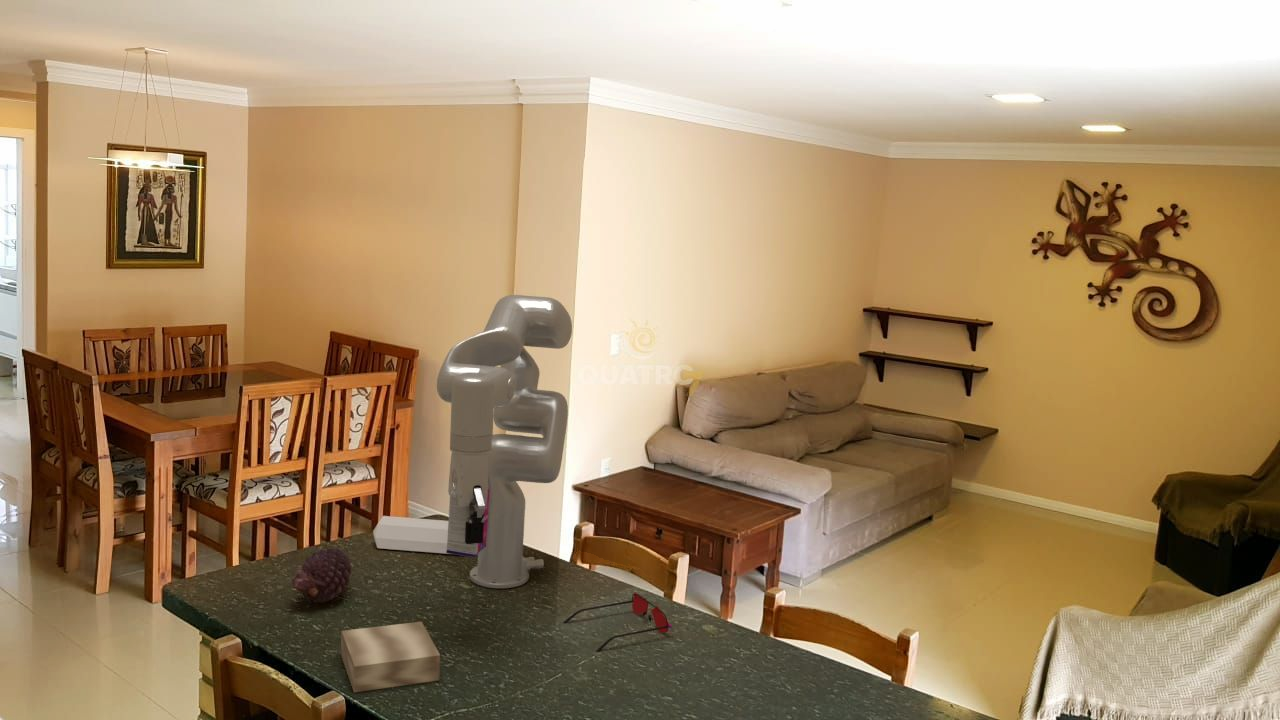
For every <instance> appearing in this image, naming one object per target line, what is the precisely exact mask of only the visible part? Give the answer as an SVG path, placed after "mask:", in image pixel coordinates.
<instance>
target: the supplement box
mask: <svg viewBox="0 0 1280 720" xmlns="http://www.w3.org/2000/svg"><path fill="white" fill-rule="evenodd" d="M489 494H490V489H488V495H487V504H486V505H485V511H484V531H483V542H482V543H474V544H466V543H465V526H466V522H468V520H467V511H466V507H464V509H461V508H460V507H459V506H458V505H457V504H456V493H455V492H454V491H453V492H451V493H450V495H449V507H448V508H449V509H448V520H447V521H448V538H447V551H446V553H449V554H448V555H458V556H464V557H470V558H471V557H472V558H476V557H478V553H479V552H480V551H482V550H483V549H484V548H485V547H486V538H487V523H488V508H489ZM470 505H476V504H475V500H474V499H473V501H472V502H470ZM474 511H476V510H475V509H472V510H471V514H473V512H474Z"/></svg>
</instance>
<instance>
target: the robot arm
mask: <svg viewBox="0 0 1280 720" xmlns="http://www.w3.org/2000/svg"><path fill="white" fill-rule="evenodd" d="M572 333H573V324H572V319H571V316H570V313H569V311H568V310H567V309H566V307H565V306H564V305H563V304H562V303H561V302H560V301H559V300H557V299H555V298H553V297H549V296H548V297H546V296H536V295H535V296H533V295H522V294H510V295H506V296H503V297H501V298H500V299H499V300H498V301H497V302H496V304H495V305H494V308H493V310H492V312H491V314H490V316H489V318H488V321H487V323H486V325H485V326H484V329H483V331H481V332H478V333H476V334H473V335H472V336H470V337H468V338H466V339H464V340H462V341H460V342H458V343H456V344H455V345H453V347H452V348H451V349H450V350H449V351H448V352H447V355H446V356H445V358H444V360H443V363H442V364H441V366H440V369H439V372H438V375H437V378H436V391H437V394H438V396H439V398H440V399H441V400H442V401H444V402H446V403H450V404H451V406H450V408H451V410H450V431H449V432H450V433H449V451H450V452H451V455H450V462H449V463H450V464H449V465H450V466H449V475H448V490H447V492H448V495H449V496H450V493H451V492H453V491H454V492H455V493H456V504H457V505H458V506H459V507H460V508H461V509H464V507H466V511H467V520H468V522H466V526H465V543H466V544H474V543H482V542H483V531H484V511H485V505H486V504H487V495H488V489H490V494H489V508H488V523H487V538H486V547H485V548H484V549H483V550H482V551H480V552H479V553H478V554H477V565H476V566H474V567H473V568H471V570H470V571H469V579H470V581H471V582H473V583H474V584H475V585H478V586H481V587H484V588H488V589H510V588H516V587H520V586H522V585H524V584H525V583H527V582H528V580H529V579H530V574H529V572H530V570H531V569H536V570H537V569H543V568H544V567H545V562H544V559H543V558H539V559H535V557H534V556H528V557H524V555H523V553H524V539H525V517H526V498H525V493H524V492H523V490H522V489H521V487H520V486H519V484H518V483H517V482H525V483H537V484H551V483H553V482H555V481H556V480H557V478H558V477H559V474H560V471H561V467H562V461H563V454H564V447H565V440H566V435H567V434H566V433H567V432H566V431H567V426H568V419H569V418H568V416H569V408H568V401H567V399H566V397H565V395H563V394H562V393H560V392H557V391H554V390H545V389H544V390H543V389H538V385H539V380H540V368H539V366H538V364H537V363H536V361H535V359H534V358H533V356H532V355H531V354H530V352H528V351H527V350H526V348H525V347H530V348H531V347H532V348H543V349H544V348H545V349H558V350H559V349H560V350H561V349H563V348H565V347H567V345H568V344H569V342H570V340H571V337H572ZM494 425H495V426H496V427H497V428H498V429H500V430H503V431H507V432H514V433H521V434H519V435H518V434H509V433H508V434H507V433H506V434H505V433H496V434H495V433H494ZM522 433H523V434H532V435H533V434H534V435H541V436H542V437H538V436H529V435H528V436H526V435H522ZM473 499H474V500H475V504H476V505H470V502H472V501H473ZM472 509H475V510H476V511H474V512H473V514H471V510H472Z"/></svg>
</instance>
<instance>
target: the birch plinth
mask: <svg viewBox="0 0 1280 720" xmlns="http://www.w3.org/2000/svg"><path fill="white" fill-rule="evenodd" d="M340 640H341V643H340V657H341V659H342V663H343V665H344V668H345V670H346V673H347V675H348V679H349V682H350V685H351V687H352V688H351V689H352V691H353V693H359V692H360V693H361V692H365V691H366V692H367V691H373V690H375V691H376V690H380V689H388V688H395V687H401V686H402V687H403V686H409V685H415V684H422V683H430V682H437V681H440V675H441V674H440V670H441V654H440V652H439V649H437V647H436V645H435V643H434V642H433V640H432V638H431V636H430V635H429V632H428V631H427V628H426V627H425V625H424V624H423V622H422V621H414V622H406V623H399V624H398V623H397V624H390V625H388V624H387V625H380V626H372V627H362V628H356V629H347V630H341V637H340Z"/></svg>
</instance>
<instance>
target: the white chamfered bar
mask: <svg viewBox="0 0 1280 720" xmlns="http://www.w3.org/2000/svg"><path fill="white" fill-rule="evenodd" d="M448 521H449V520H443V519H442V520H440V519H427V518H426V519H425V518H415V517H405V516H404V517H402V516H388V515H383V516H382V517H381V518H380V520H379V521H378V523H377V524H376V526H375V528H374V529H373V531H372V535H373V539H374V542H375V547H376V548H377V549H385V550H386V549H387V550H397V551H398V550H399V551H409V552H423V553H432V554H433V553H435V554H447V555H450V554H449V553H446V551H447V538H448Z"/></svg>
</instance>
